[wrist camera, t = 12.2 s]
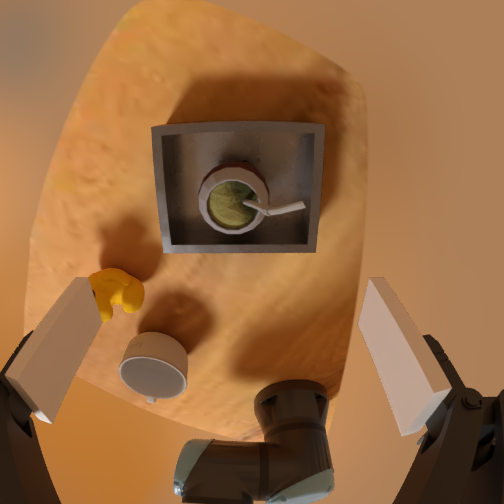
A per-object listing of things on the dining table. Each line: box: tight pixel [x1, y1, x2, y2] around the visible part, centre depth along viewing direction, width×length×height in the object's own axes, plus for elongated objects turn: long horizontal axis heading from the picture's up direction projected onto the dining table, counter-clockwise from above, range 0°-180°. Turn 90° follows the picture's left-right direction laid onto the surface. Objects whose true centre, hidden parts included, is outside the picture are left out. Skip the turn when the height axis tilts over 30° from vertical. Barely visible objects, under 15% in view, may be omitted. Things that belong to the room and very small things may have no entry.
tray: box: [151, 120, 325, 253], centre depth 31 cm, size 14×17×6 cm
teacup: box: [119, 332, 188, 403], centre depth 44 cm, size 14×11×8 cm
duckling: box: [88, 268, 145, 324], centre depth 36 cm, size 11×5×10 cm, turn 82°
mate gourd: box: [198, 160, 306, 234], centre depth 26 cm, size 8×8×15 cm
